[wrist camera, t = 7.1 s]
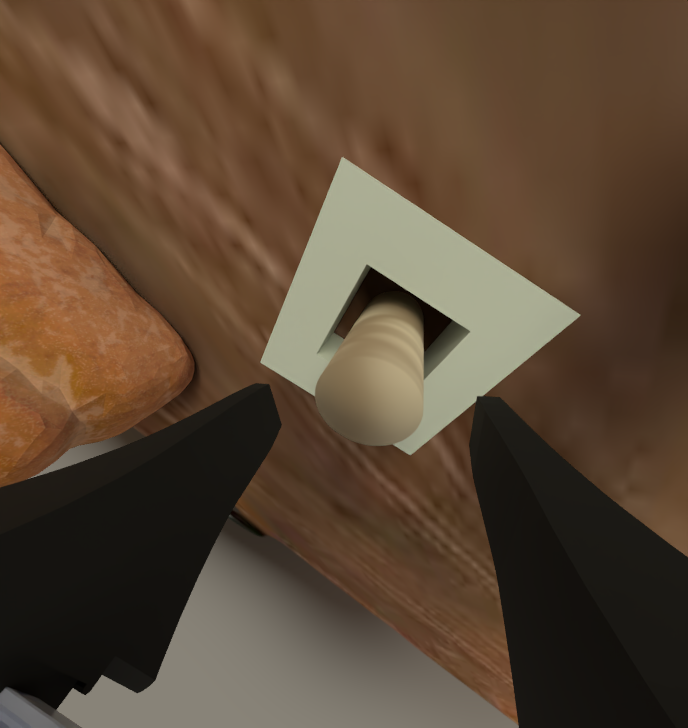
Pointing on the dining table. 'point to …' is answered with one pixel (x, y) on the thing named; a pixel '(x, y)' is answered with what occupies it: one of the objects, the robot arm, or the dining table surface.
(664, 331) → the dining table surface
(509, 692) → the dining table surface
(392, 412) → the peg
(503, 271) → the socket block
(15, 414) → the bread
